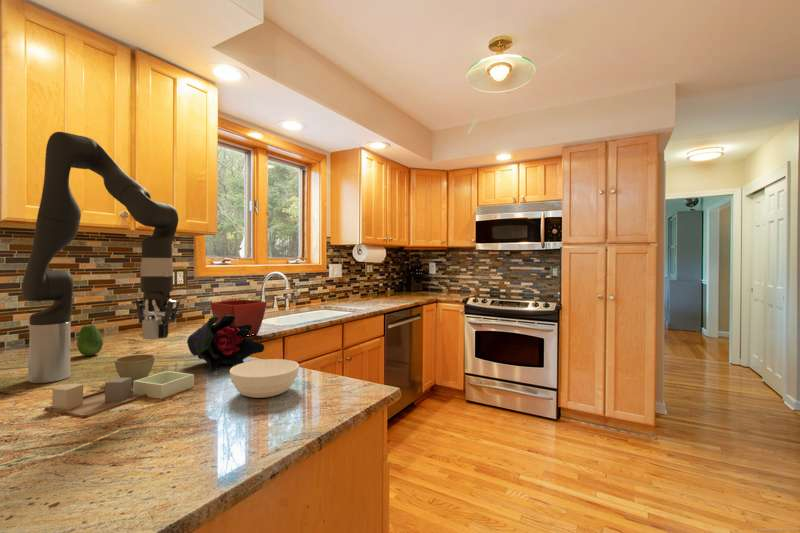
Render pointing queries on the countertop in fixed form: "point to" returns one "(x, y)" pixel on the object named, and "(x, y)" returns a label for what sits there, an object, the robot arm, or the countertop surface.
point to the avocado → (89, 340)
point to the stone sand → (67, 396)
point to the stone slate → (150, 329)
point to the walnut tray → (94, 405)
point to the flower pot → (134, 366)
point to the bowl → (264, 377)
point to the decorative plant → (222, 342)
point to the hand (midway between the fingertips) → (157, 337)
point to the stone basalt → (118, 389)
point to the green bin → (163, 384)
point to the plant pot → (241, 312)
